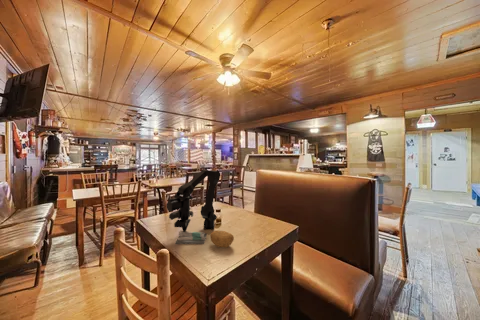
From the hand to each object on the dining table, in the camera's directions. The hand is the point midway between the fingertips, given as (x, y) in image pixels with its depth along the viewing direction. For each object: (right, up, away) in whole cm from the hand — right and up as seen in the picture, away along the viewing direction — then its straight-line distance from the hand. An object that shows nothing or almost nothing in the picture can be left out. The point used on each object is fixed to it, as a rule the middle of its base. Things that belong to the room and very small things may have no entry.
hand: (184, 232), depth 111 cm
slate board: (+5, -3, -2) cm, 7 cm away
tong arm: (+5, -1, -3) cm, 6 cm away
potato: (+23, -4, -10) cm, 26 cm away
